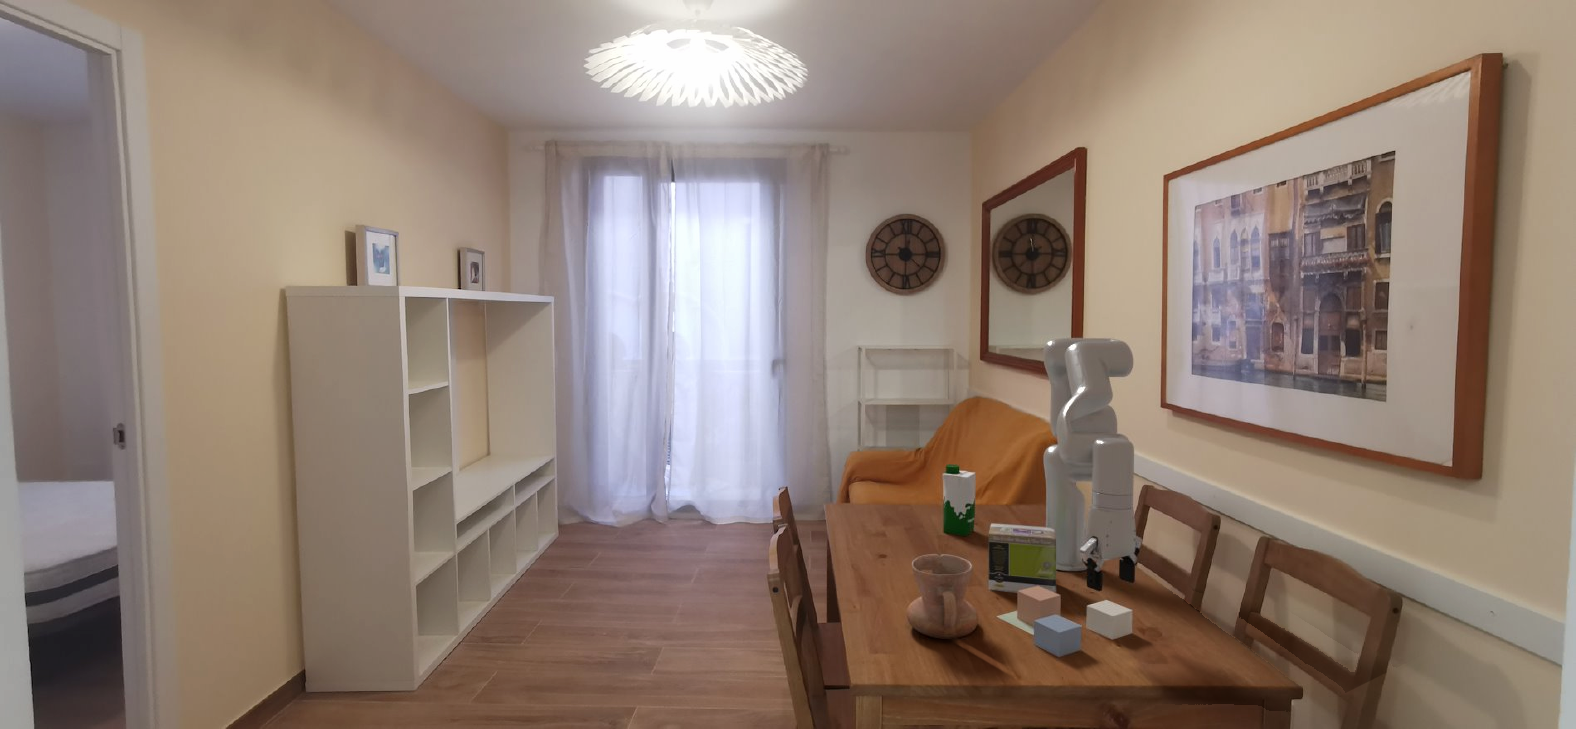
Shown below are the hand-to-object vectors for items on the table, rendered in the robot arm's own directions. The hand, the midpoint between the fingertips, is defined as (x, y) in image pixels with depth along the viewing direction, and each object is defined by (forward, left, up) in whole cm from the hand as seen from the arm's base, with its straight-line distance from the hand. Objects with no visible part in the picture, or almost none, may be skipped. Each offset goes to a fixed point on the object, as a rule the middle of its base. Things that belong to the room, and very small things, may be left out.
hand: (1110, 584), depth 141 cm
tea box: (-3, -26, -11) cm, 29 cm away
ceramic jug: (+28, -18, -11) cm, 35 cm away
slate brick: (+15, 0, -11) cm, 18 cm away
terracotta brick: (+9, -10, -10) cm, 17 cm away
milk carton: (-22, -69, -11) cm, 74 cm away
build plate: (+9, -10, -11) cm, 17 cm away
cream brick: (0, 0, -11) cm, 11 cm away
